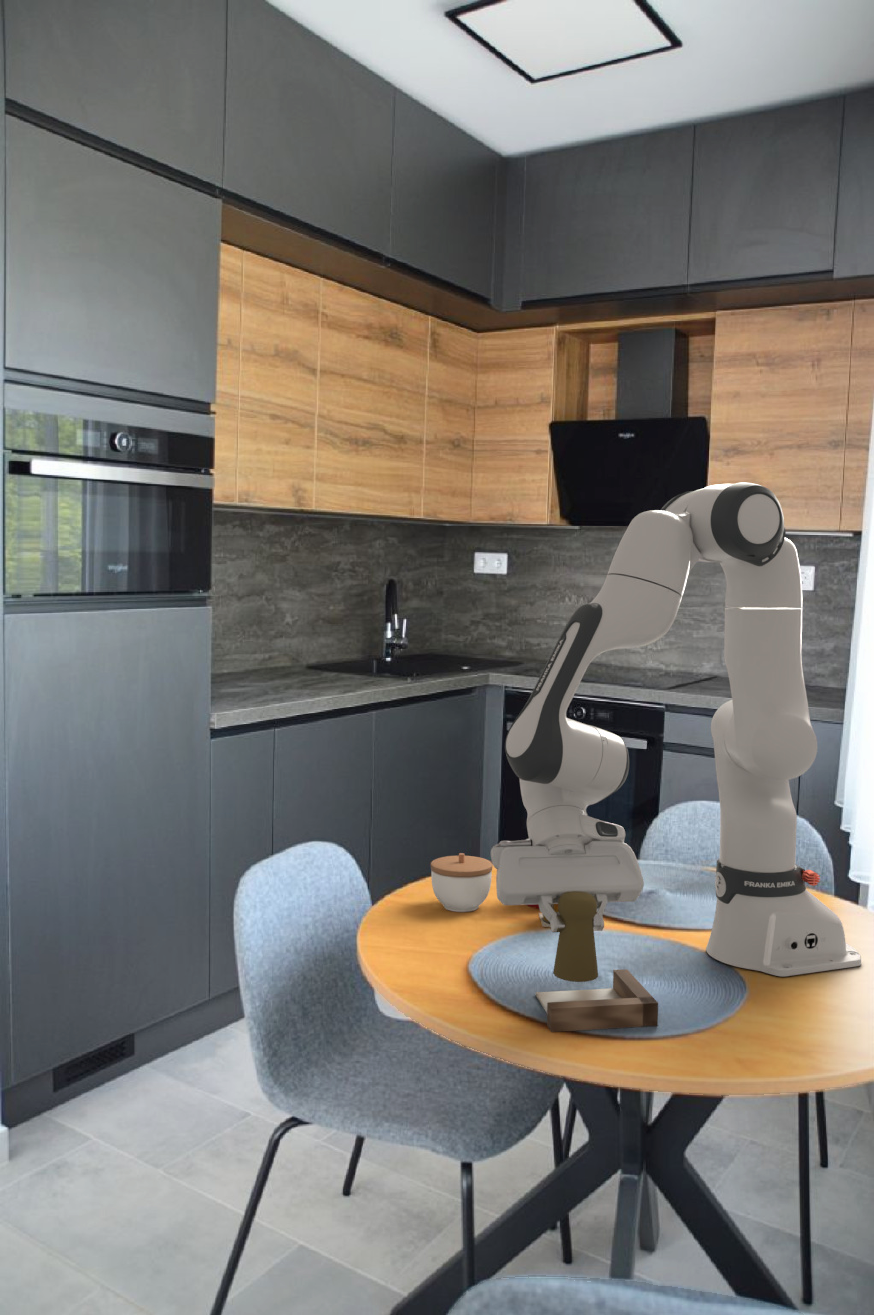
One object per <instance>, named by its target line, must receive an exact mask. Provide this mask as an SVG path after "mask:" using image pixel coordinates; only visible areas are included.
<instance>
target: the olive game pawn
mask: <svg viewBox="0 0 874 1315" xmlns="http://www.w3.org/2000/svg"><path fill="white" fill-rule="evenodd" d="M558 910H559V913H560V915H561V916H562V918H563V919H564V920H563V922H564V923H565V929H564V930H563V931H562V932H558V939H557V946H556V953H555V961H554V965H553V966H554V967H553V973H552V974H553V975H554V976H555V977H556V978H558V979H559V980H563V981H567V982H575V983H585V982H591V981H594V980H597V978H598V977H599V970H598V961H597V950H596V941H595V931H594V930H593V918H594V916H595V915H596V914H597V912H598V909H597V902H596V899H595V898H594V896H593V895H591V894H589V893H586V892H581V891H571V892H566V893H564V894H562V895H561V897H560V898H559V902H558Z"/></svg>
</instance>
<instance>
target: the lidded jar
mask: <svg viewBox="0 0 874 1315" xmlns="http://www.w3.org/2000/svg"><path fill="white" fill-rule="evenodd" d="M430 870H431V873H430V874H431V875H430V876H431V885H432V890H433V894H434V895H435V897H436V899H437V900H438V901H439V903H440V904H441V905H443V908H444V909H445V910H448V911H450V912H455V913H456V912H457V913H468V912H474V911H476V910H478V909H479V906H481V905H482V904H483V903H484V901H486V899H487V897H488V895H489V893H490V890H491V887H492V886H491V885H492V877H493V876H492V871H493V864H492V861H491V860H489V859H487V858H484V857H479V856H473V855H472V856H471V855H465V853H463V852H460V853H458V855H447V856H442V857H438V858H435V859H433V860H431V862H430Z"/></svg>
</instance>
